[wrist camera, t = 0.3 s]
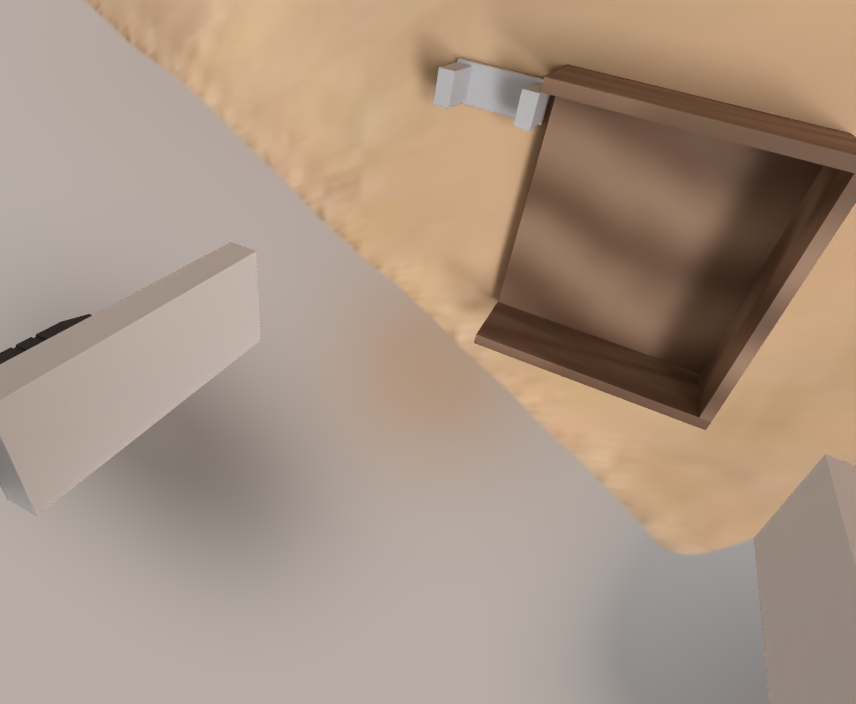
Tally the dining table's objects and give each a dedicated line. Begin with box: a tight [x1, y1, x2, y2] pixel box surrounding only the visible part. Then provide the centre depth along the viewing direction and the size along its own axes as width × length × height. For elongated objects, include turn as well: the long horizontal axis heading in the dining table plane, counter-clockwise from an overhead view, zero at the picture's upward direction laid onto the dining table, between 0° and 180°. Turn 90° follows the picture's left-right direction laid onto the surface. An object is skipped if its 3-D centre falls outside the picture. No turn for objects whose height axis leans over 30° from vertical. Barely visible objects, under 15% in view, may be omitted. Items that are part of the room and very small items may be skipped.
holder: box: [474, 65, 856, 430], centre depth 32 cm, size 16×15×6 cm
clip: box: [433, 58, 551, 131], centre depth 32 cm, size 2×6×4 cm, turn 80°
